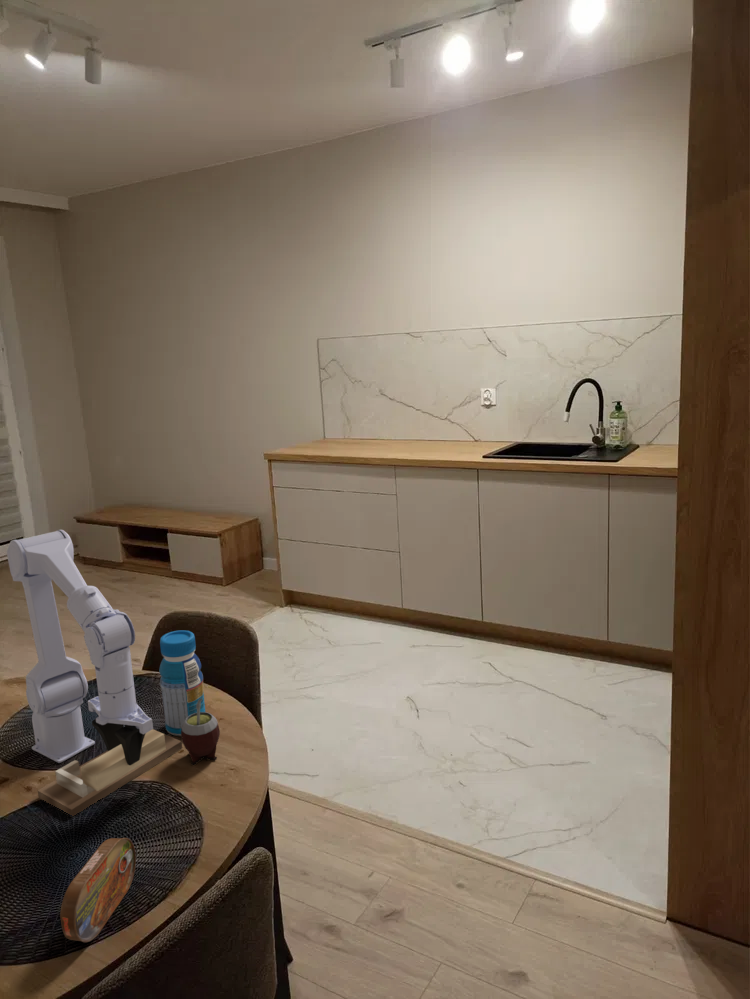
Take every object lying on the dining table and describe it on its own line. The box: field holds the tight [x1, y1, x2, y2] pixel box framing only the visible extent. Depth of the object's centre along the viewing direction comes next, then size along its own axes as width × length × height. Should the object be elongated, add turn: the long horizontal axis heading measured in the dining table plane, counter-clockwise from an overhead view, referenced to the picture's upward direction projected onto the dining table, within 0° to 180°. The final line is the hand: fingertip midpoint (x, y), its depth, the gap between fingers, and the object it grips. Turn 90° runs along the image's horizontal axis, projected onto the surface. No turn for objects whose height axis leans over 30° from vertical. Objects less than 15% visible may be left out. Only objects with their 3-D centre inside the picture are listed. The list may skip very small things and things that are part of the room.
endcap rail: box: [37, 728, 183, 817], centre depth 135 cm, size 10×24×4 cm, turn 146°
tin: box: [59, 837, 137, 943], centre depth 102 cm, size 15×3×8 cm, turn 168°
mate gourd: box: [180, 698, 221, 766], centre depth 137 cm, size 8×8×15 cm
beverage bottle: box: [159, 629, 206, 737], centre depth 147 cm, size 8×8×20 cm
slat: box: [81, 728, 166, 791], centre depth 125 cm, size 4×14×3 cm, turn 146°
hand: (125, 757), depth 125 cm, fingers closed on slat, 4 cm apart
